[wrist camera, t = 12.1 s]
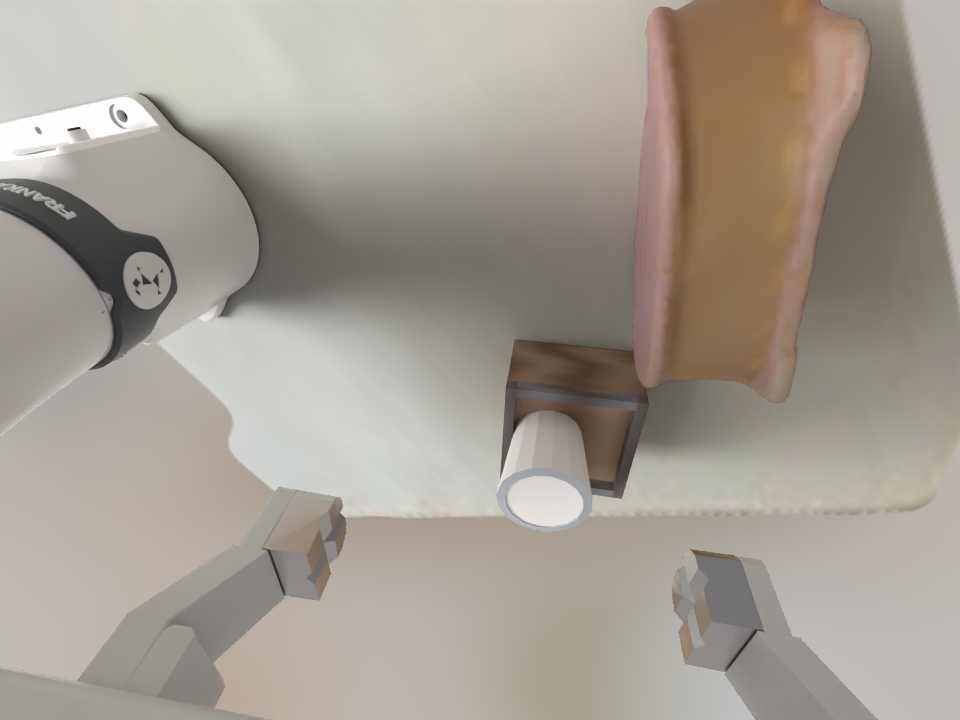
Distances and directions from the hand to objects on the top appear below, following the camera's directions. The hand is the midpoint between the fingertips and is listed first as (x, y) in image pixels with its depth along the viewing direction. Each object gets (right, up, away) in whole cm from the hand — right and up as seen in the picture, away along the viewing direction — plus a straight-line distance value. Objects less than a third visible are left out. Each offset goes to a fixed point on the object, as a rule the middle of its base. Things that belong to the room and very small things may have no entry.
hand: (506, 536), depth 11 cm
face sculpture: (+12, +17, +22) cm, 30 cm away
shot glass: (+5, -2, +29) cm, 29 cm away
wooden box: (+8, +1, +33) cm, 34 cm away
